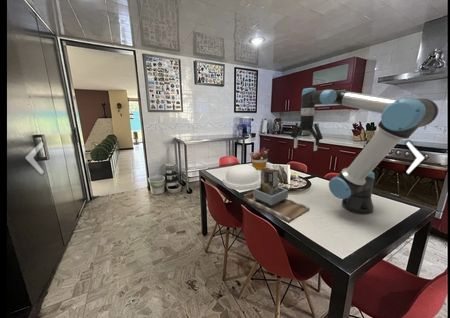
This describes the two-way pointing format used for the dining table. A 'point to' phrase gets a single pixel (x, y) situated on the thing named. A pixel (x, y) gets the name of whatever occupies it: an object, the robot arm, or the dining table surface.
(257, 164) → the bucket of meat
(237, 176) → the dome cover
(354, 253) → the dining table surface
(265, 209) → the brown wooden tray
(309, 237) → the dining table surface
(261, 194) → the grey open tray
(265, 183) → the coffee box
